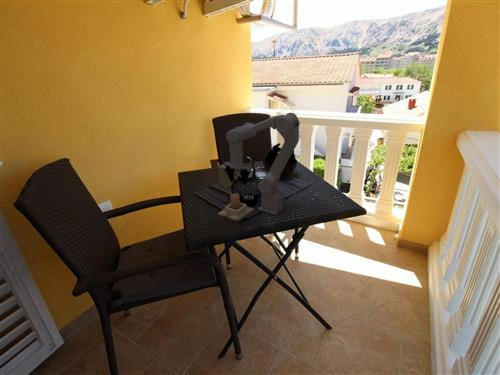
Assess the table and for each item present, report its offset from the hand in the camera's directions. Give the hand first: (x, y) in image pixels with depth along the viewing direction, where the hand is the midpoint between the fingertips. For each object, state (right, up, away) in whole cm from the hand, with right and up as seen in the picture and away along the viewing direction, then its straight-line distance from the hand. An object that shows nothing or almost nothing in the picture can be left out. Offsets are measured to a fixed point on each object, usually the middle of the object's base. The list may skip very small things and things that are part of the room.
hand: (238, 182), depth 126 cm
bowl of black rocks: (+24, +4, +34) cm, 41 cm away
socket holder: (-1, -14, -5) cm, 15 cm away
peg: (-1, -13, -6) cm, 14 cm away
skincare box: (-8, -2, +23) cm, 25 cm away
